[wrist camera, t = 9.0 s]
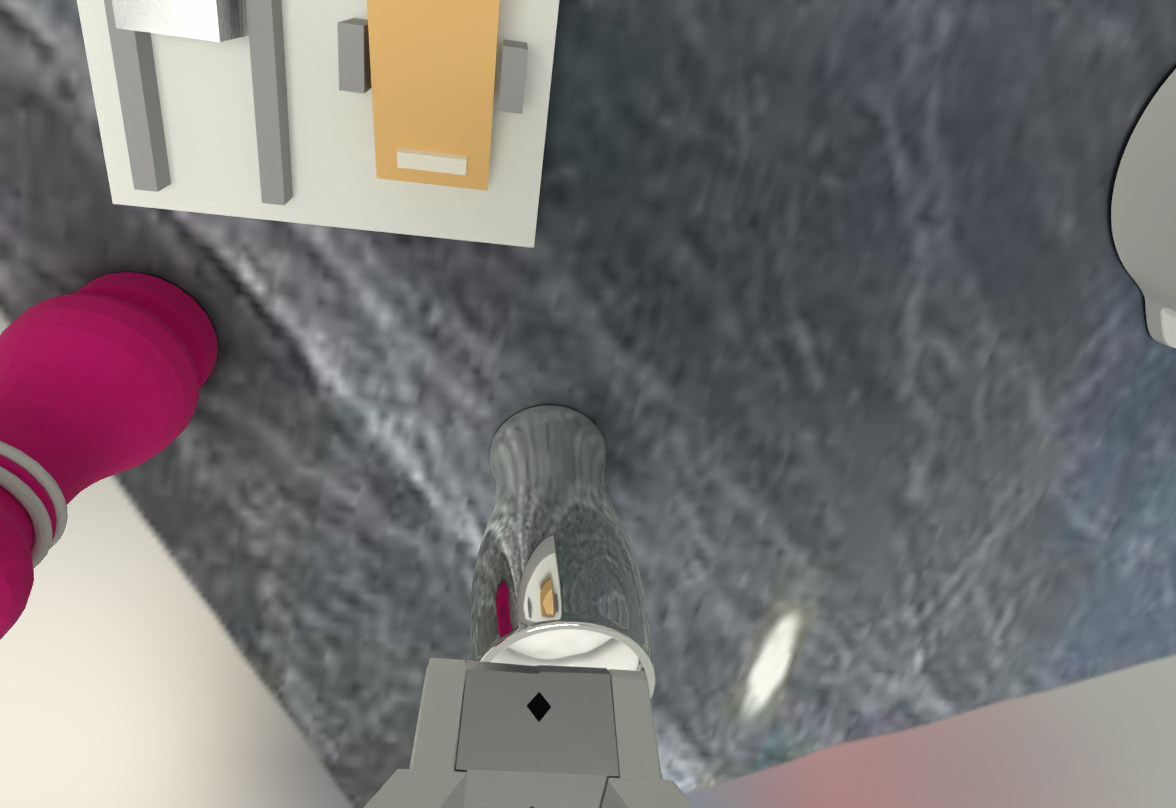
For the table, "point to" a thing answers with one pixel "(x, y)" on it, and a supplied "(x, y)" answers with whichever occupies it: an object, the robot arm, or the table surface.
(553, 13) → the console
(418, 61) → the amber rocker
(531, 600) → the beer glass
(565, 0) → the table surface
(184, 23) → the metal slider knob
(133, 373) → the pepper mill
